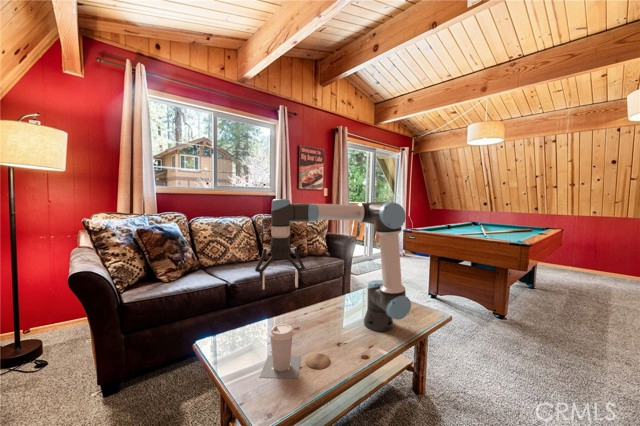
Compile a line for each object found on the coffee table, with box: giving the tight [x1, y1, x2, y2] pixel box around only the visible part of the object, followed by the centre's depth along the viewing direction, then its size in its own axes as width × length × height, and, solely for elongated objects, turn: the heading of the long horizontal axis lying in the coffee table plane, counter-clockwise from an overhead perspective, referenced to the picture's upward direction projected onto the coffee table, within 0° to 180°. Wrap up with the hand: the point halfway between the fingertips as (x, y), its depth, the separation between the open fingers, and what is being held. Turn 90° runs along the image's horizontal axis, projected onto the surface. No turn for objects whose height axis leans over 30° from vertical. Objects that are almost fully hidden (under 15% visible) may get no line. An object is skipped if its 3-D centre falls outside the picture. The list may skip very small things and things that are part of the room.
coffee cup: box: [268, 323, 295, 371], centre depth 107 cm, size 10×10×15 cm
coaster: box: [305, 353, 331, 370], centre depth 110 cm, size 10×10×1 cm
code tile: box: [259, 354, 302, 380], centre depth 107 cm, size 14×14×1 cm
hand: (280, 287), depth 113 cm, fingers open, 13 cm apart
